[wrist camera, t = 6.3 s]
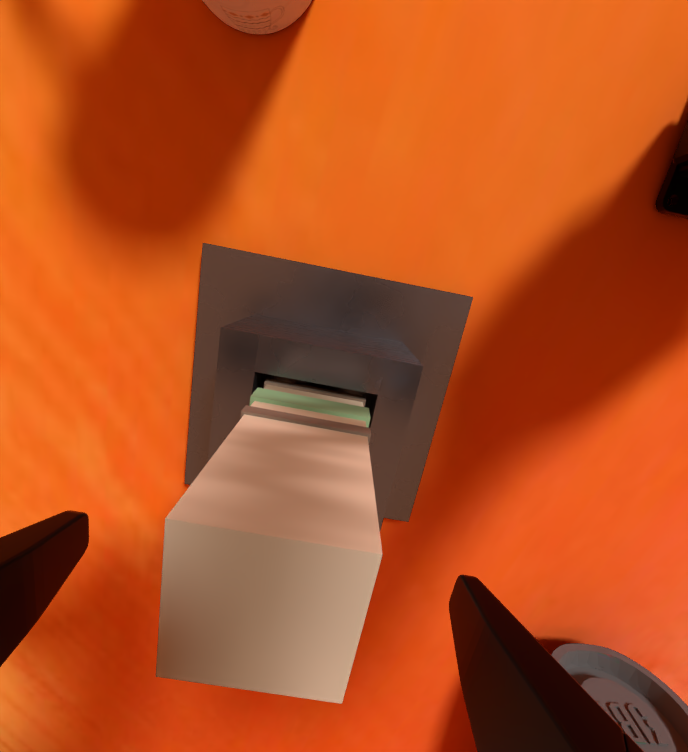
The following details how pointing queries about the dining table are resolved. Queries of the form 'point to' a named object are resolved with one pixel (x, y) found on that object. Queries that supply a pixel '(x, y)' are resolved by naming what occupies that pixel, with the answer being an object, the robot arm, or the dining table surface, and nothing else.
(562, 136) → the dining table surface
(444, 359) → the stand base
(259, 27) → the mug
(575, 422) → the dining table surface
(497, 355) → the dining table surface
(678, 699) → the bluetooth speaker
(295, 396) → the column
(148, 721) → the dining table surface
